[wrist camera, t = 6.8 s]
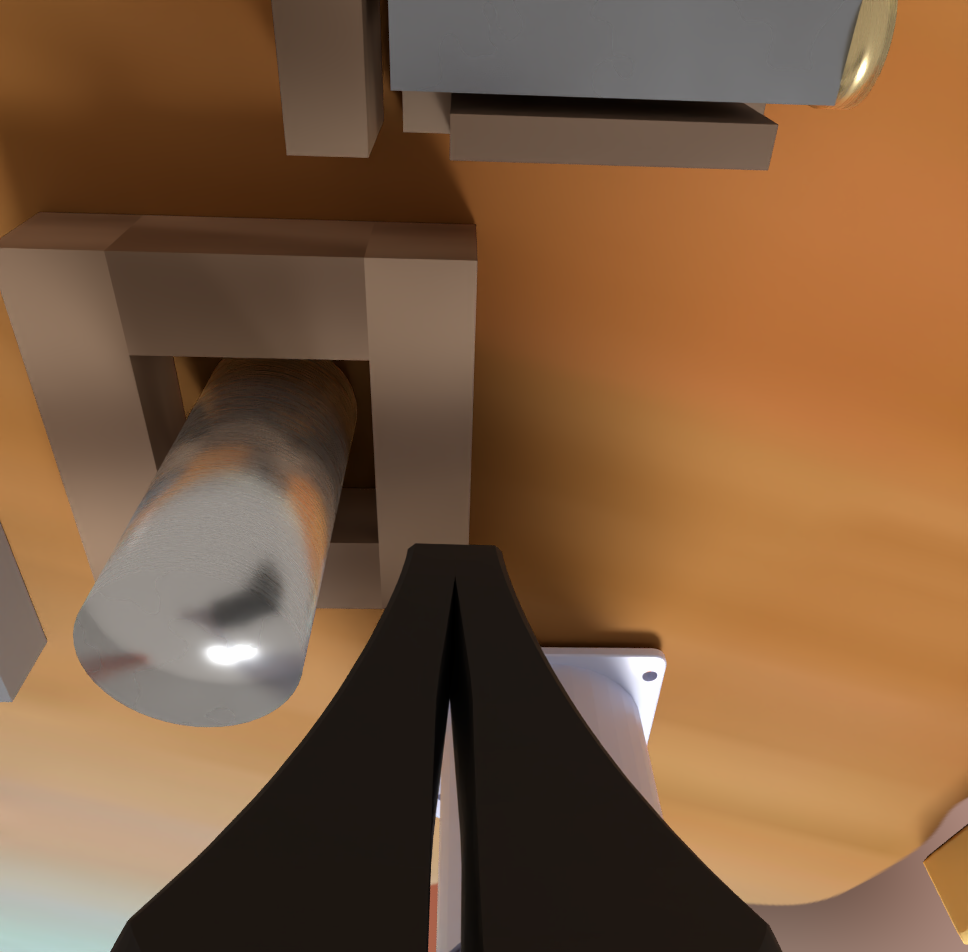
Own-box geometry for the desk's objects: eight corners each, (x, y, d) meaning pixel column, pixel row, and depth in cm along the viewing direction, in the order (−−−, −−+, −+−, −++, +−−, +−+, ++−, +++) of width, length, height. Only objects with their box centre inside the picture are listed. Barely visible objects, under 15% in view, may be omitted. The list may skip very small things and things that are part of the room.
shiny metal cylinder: (360, 468, 23) (312, 727, 16) (220, 465, 23) (102, 726, 15) (353, 340, 21) (290, 573, 13) (196, 336, 20) (45, 570, 13)
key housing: (740, 131, 18) (794, 171, 15) (315, 117, 18) (287, 155, 15) (789, -105, 15) (863, -112, 13) (296, -127, 15) (256, -140, 12)
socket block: (466, 553, 25) (466, 609, 23) (133, 548, 24) (102, 606, 22) (476, 224, 19) (477, 260, 17) (39, 212, 19) (-14, 247, 17)
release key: (819, 97, 16) (868, 120, 14) (399, 82, 16) (390, 104, 14) (854, -42, 15) (914, -37, 13) (396, -61, 15) (385, -60, 13)
